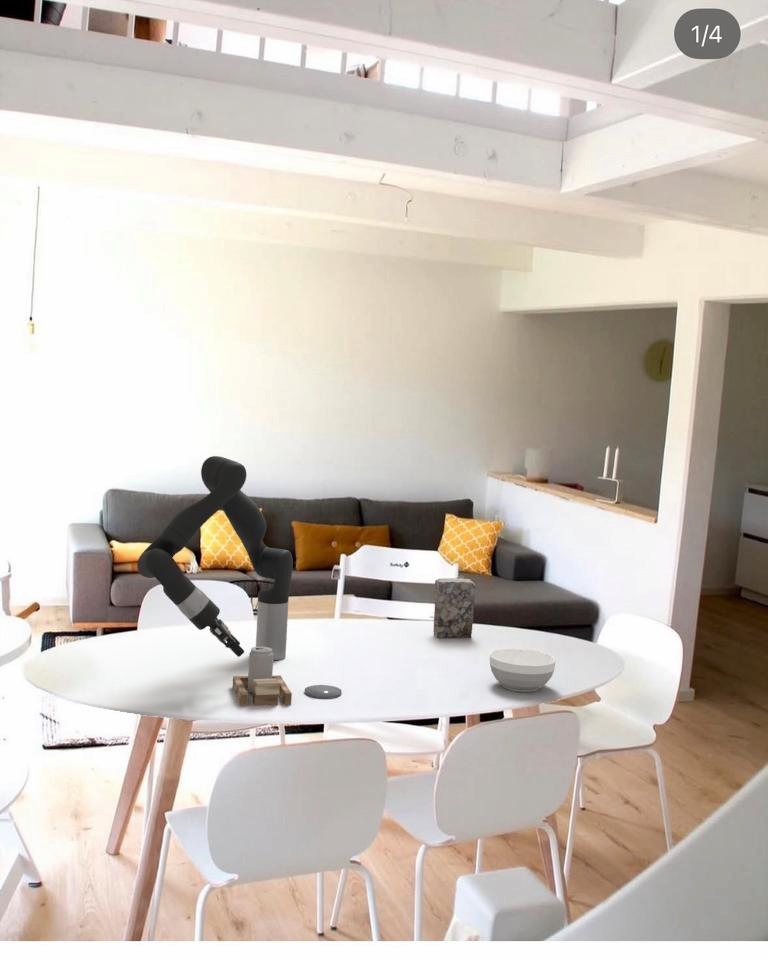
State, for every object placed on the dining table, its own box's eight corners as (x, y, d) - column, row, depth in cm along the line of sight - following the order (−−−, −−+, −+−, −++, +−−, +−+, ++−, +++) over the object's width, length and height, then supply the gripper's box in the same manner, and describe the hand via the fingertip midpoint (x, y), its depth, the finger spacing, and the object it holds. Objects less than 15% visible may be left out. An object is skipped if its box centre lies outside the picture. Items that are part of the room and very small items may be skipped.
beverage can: (259, 687, 278) (261, 644, 277) (276, 693, 274) (278, 649, 273) (242, 692, 273) (244, 648, 272) (259, 697, 269) (261, 652, 268)
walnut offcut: (252, 701, 266) (252, 690, 266) (275, 701, 268) (275, 690, 267) (254, 706, 262) (255, 695, 262) (277, 705, 264) (278, 694, 264)
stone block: (438, 639, 346) (441, 581, 345) (430, 634, 353) (434, 577, 351) (473, 638, 351) (477, 581, 349) (465, 634, 357) (469, 577, 356)
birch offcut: (252, 690, 266) (253, 679, 265) (275, 689, 268) (275, 678, 268) (256, 695, 262) (257, 683, 262) (279, 694, 264) (279, 682, 264)
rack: (232, 687, 277) (233, 676, 277) (279, 686, 281) (280, 675, 281) (241, 706, 261) (241, 694, 261) (291, 704, 265) (291, 693, 265)
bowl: (517, 674, 308) (519, 645, 307) (567, 690, 294) (569, 660, 293) (474, 683, 295) (476, 653, 294) (524, 700, 281) (526, 669, 280)
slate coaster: (301, 688, 280) (301, 685, 280) (336, 687, 283) (336, 684, 283) (308, 699, 270) (308, 696, 270) (345, 698, 273) (345, 695, 273)
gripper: (211, 603, 261) (253, 647, 265) (205, 592, 275) (246, 633, 279) (189, 624, 260) (232, 667, 264) (184, 611, 274) (226, 653, 278)
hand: (239, 650), depth 271 cm, fingers open, 8 cm apart
